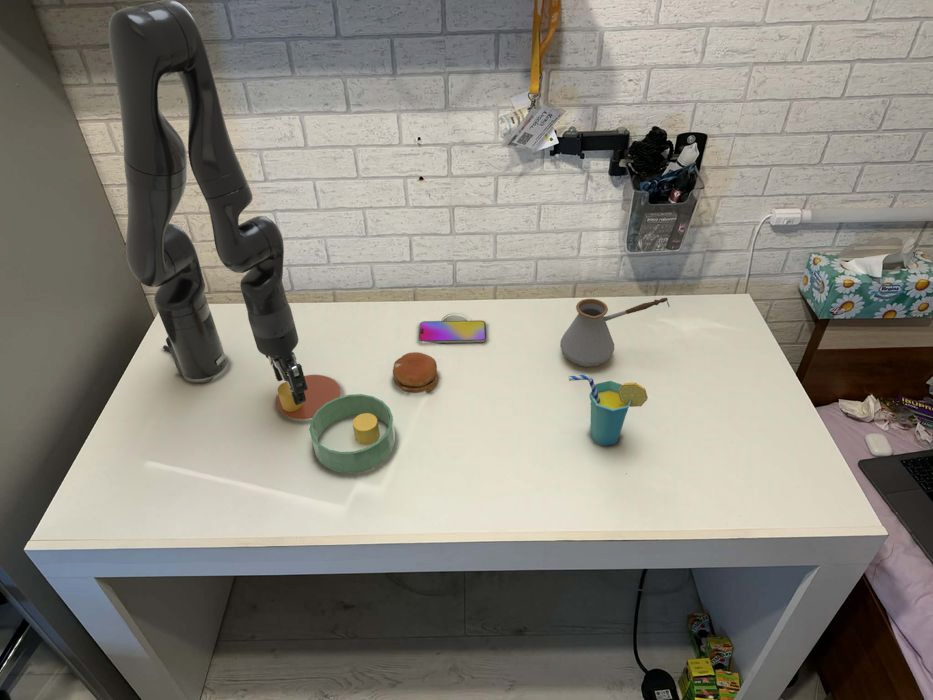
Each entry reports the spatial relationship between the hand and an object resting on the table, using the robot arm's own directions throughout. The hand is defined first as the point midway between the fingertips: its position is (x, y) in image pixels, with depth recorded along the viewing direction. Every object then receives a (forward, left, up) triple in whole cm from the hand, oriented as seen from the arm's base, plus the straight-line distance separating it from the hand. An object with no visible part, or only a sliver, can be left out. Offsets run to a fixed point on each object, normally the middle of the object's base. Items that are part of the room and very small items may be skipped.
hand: (291, 390), depth 128 cm
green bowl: (+16, -6, -5) cm, 17 cm away
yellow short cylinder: (+17, -4, -4) cm, 18 cm away
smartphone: (+24, +31, -5) cm, 39 cm away
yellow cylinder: (0, 0, -4) cm, 4 cm away
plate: (+2, +3, -5) cm, 6 cm away
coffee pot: (+59, +32, -5) cm, 67 cm away
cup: (+60, +8, -5) cm, 60 cm away
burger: (+21, +14, -5) cm, 25 cm away
